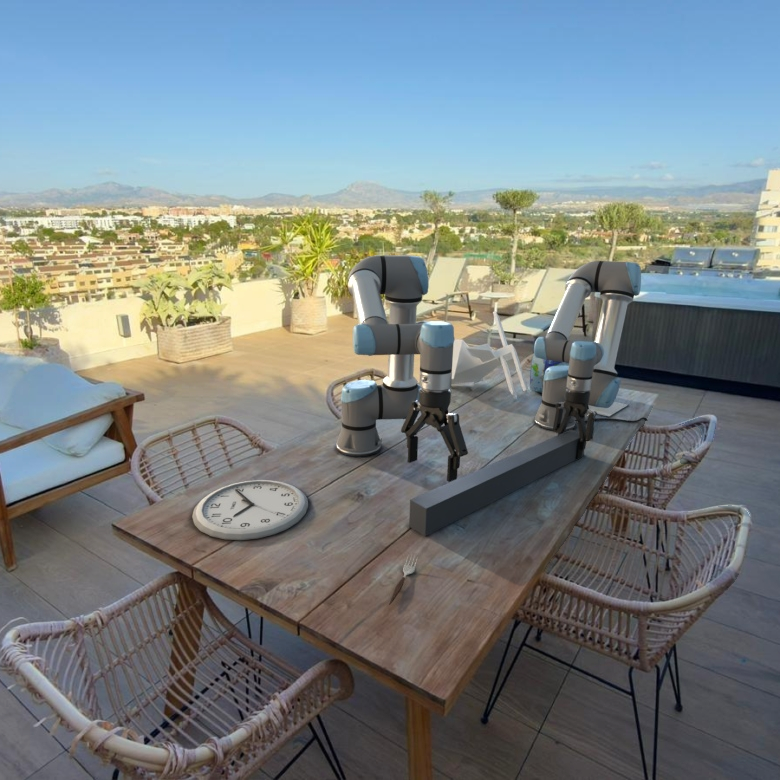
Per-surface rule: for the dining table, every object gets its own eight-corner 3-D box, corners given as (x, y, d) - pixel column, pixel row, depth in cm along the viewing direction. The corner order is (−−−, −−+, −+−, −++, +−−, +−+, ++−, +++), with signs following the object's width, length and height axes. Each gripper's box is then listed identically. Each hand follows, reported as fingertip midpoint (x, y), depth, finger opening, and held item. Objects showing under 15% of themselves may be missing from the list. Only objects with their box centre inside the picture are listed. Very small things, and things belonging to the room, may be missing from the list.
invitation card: (608, 416, 214) (573, 407, 224) (608, 416, 214) (573, 408, 224) (628, 404, 229) (594, 396, 238) (628, 405, 229) (594, 397, 238)
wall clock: (304, 532, 127) (176, 536, 124) (304, 538, 127) (177, 542, 125) (311, 475, 155) (207, 478, 153) (311, 480, 156) (208, 483, 153)
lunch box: (546, 398, 236) (551, 353, 229) (525, 393, 243) (529, 349, 237) (573, 387, 253) (579, 344, 247) (553, 382, 260) (558, 341, 254)
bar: (568, 450, 181) (570, 429, 179) (583, 455, 177) (586, 434, 175) (409, 526, 133) (410, 499, 131) (425, 536, 129) (426, 508, 127)
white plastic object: (461, 429, 252) (437, 405, 227) (444, 352, 274) (420, 323, 250) (535, 404, 240) (518, 377, 215) (510, 326, 262) (492, 293, 237)
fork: (383, 605, 105) (383, 597, 105) (407, 560, 120) (408, 552, 119) (395, 608, 104) (395, 600, 104) (418, 562, 119) (419, 555, 118)
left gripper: (388, 379, 129) (387, 457, 136) (464, 404, 112) (459, 493, 118) (410, 374, 134) (408, 450, 141) (487, 397, 116) (480, 483, 123)
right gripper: (546, 384, 174) (539, 448, 181) (599, 398, 160) (590, 467, 167) (558, 381, 179) (551, 443, 186) (611, 394, 165) (601, 461, 172)
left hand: (431, 470), depth 129 cm, fingers open, 13 cm apart
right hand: (569, 454), depth 176 cm, fingers closed on bar, 6 cm apart
